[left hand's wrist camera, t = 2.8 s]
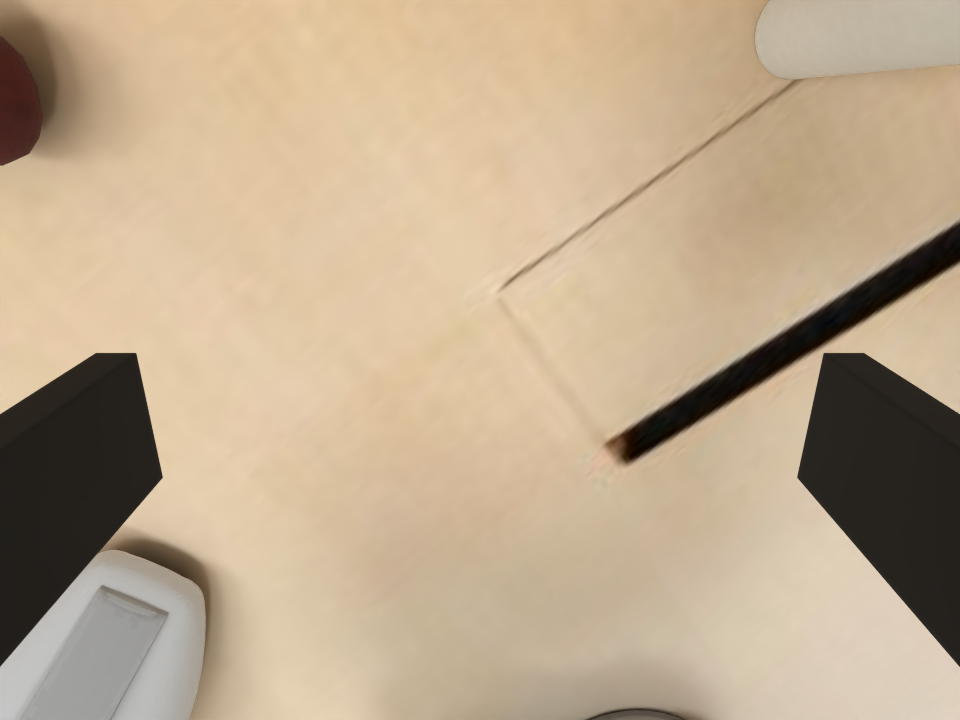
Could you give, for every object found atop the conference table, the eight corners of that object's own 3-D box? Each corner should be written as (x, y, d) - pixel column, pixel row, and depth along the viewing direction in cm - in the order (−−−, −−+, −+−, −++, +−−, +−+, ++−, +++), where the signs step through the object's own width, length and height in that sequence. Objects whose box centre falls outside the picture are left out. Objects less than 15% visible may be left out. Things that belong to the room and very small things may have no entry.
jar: (781, 98, 36) (1053, 89, 19) (737, 24, 35) (989, -58, 18) (859, 39, 35) (1223, -28, 18) (817, -41, 34) (1169, -195, 16)
